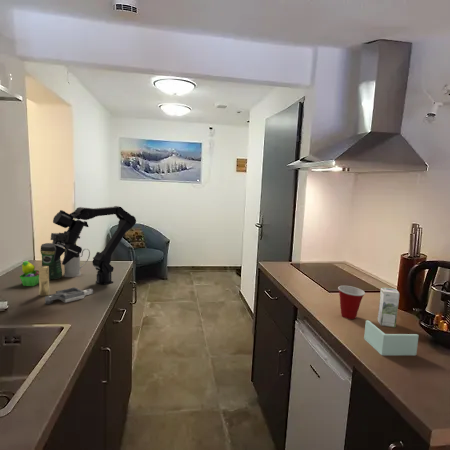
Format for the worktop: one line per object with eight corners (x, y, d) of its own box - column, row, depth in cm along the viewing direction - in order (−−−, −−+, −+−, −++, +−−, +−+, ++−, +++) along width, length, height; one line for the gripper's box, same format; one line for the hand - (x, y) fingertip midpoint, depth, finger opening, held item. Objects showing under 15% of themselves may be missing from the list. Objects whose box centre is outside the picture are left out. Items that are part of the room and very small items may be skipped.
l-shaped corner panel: (416, 356, 114) (418, 335, 113) (381, 356, 113) (383, 335, 112) (395, 340, 125) (397, 320, 125) (363, 340, 124) (365, 320, 123)
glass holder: (61, 274, 189) (60, 247, 187) (86, 270, 199) (86, 244, 197) (67, 277, 183) (66, 250, 181) (93, 273, 193) (93, 247, 191)
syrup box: (392, 322, 140) (395, 288, 138) (395, 328, 135) (399, 292, 133) (377, 320, 142) (380, 286, 140) (380, 326, 136) (384, 290, 134)
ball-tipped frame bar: (87, 290, 164) (87, 284, 164) (97, 294, 159) (97, 288, 158) (41, 301, 148) (40, 294, 147) (50, 306, 142) (49, 299, 142)
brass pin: (47, 292, 159) (46, 265, 157) (50, 294, 156) (50, 266, 155) (37, 294, 156) (37, 266, 154) (41, 296, 153) (41, 268, 152)
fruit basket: (34, 287, 166) (34, 264, 164) (16, 286, 166) (15, 263, 164) (46, 280, 177) (46, 259, 176) (29, 279, 177) (28, 258, 176)
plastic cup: (360, 324, 137) (362, 295, 136) (332, 317, 143) (335, 289, 141) (365, 315, 146) (367, 288, 145) (339, 309, 152) (341, 283, 150)
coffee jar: (64, 276, 185) (64, 242, 183) (55, 280, 177) (55, 245, 175) (48, 275, 186) (47, 241, 184) (38, 279, 178) (37, 244, 176)
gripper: (49, 222, 162) (34, 253, 159) (67, 227, 150) (50, 260, 147) (70, 231, 170) (56, 261, 167) (88, 237, 158) (73, 268, 155)
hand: (58, 262), depth 158 cm, fingers open, 9 cm apart
